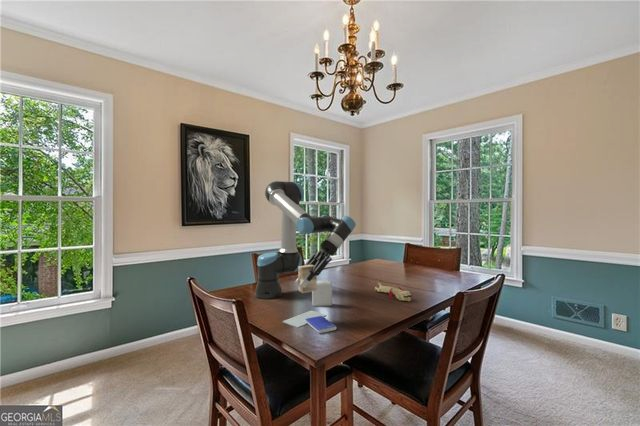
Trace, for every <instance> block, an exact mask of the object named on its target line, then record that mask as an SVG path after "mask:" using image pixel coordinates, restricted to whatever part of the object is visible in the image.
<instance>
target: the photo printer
mask: <svg viewBox="0 0 640 426" xmlns="http://www.w3.org/2000/svg"><path fill="white" fill-rule="evenodd" d="M311 299H312V300H311V301H312V302H311V304H312V306H313V307H320V306H321V307H322V306H325V307H326V306H332V305H333V284H332V282H331V281H329V280H317V291H312V292H311Z"/></svg>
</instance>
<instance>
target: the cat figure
mask: <svg viewBox="0 0 640 426" xmlns="http://www.w3.org/2000/svg"><path fill="white" fill-rule="evenodd" d="M381 282H382V279H381V278H378V279H377V282H376V283H377V284H378V286H379V287H378V286H375V287H374V290H373V291H374V292H376V293H377V292H379V293H386V294H387V293H388V297H389V298H390V299H393V295H395V297H396V299H397V300H398V301H406V302H411V301H412V298H411V297H412V293H411V292H410V291H409V290H403V289H402V288H401V287H400V286H398V288H397V287H393V286H388V285H386V286H385V285H383V284H382V283H381Z"/></svg>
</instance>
